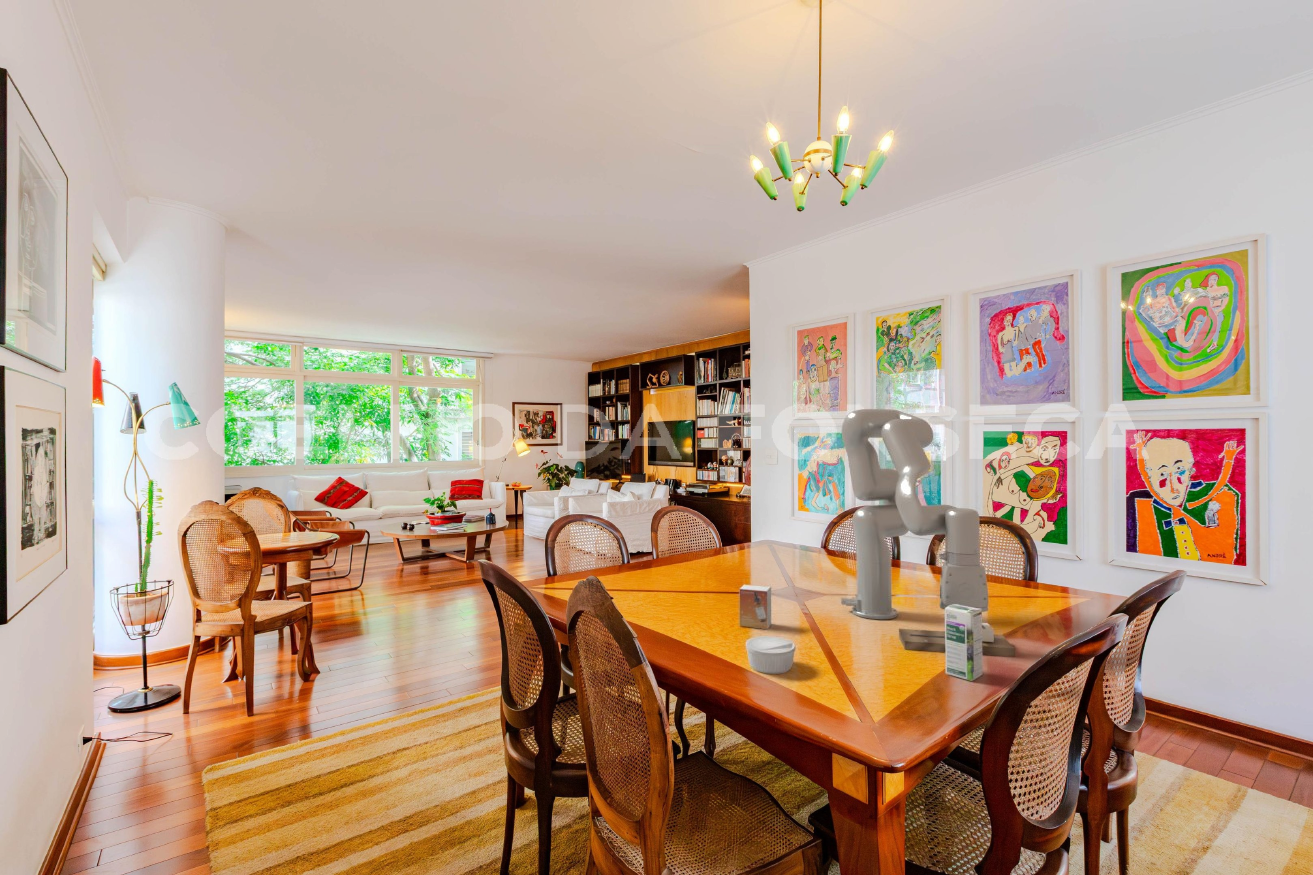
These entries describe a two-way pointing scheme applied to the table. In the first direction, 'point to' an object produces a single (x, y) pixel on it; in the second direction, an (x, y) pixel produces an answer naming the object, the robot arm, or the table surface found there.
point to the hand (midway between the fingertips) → (963, 633)
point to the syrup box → (963, 641)
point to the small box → (755, 606)
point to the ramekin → (770, 654)
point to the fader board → (936, 642)
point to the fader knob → (987, 633)
